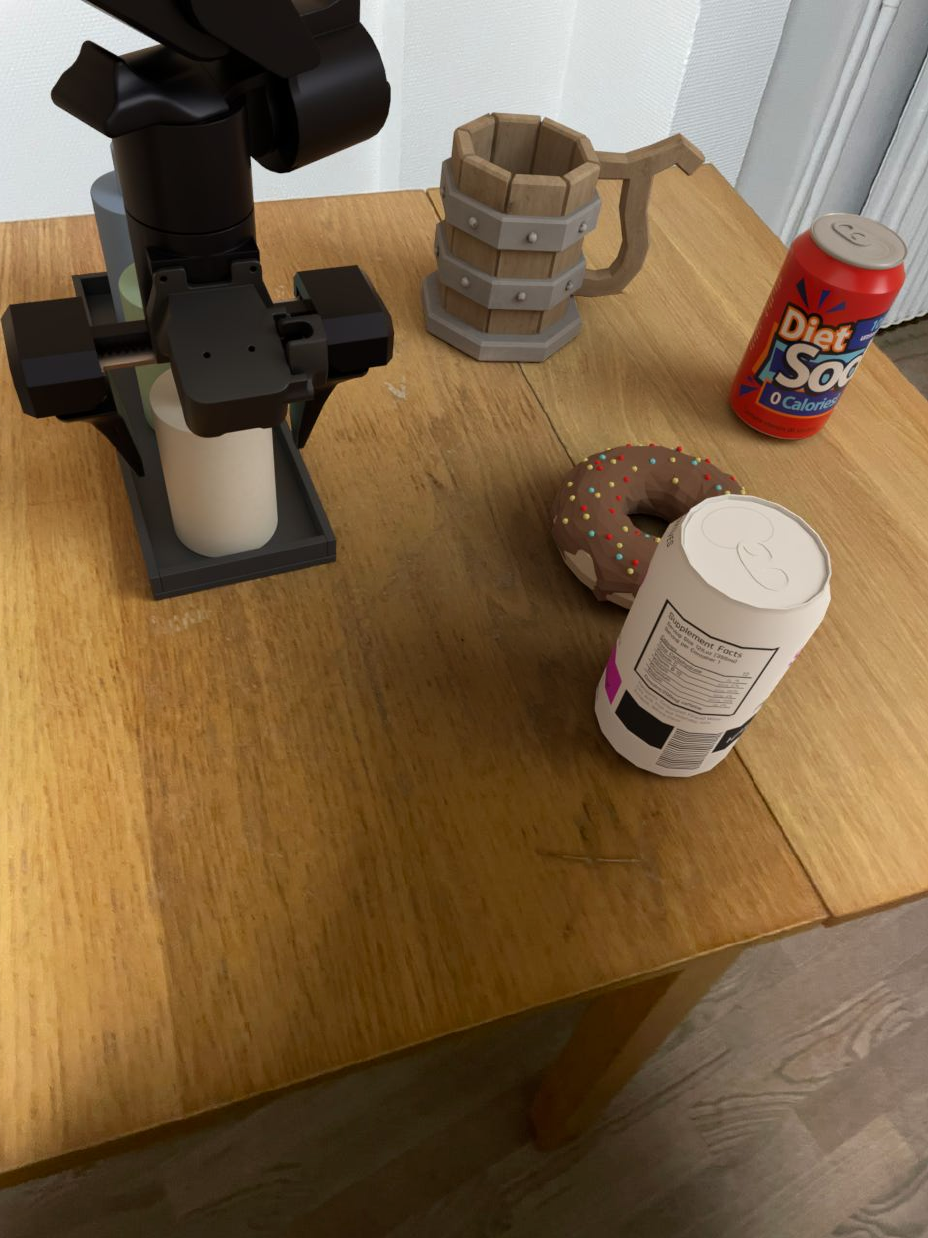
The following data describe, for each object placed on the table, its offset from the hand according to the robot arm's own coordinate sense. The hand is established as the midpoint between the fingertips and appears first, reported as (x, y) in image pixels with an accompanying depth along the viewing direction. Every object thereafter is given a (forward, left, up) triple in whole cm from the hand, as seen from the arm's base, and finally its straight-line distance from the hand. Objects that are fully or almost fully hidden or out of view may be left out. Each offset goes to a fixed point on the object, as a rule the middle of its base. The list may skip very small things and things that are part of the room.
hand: (221, 457), depth 53 cm
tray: (0, +11, -6) cm, 13 cm away
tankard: (+30, +17, -6) cm, 35 cm away
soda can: (+43, +1, -6) cm, 43 cm away
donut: (+26, -9, -6) cm, 28 cm away
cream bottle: (0, 0, -5) cm, 5 cm away
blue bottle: (0, +22, -5) cm, 23 cm away
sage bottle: (0, +11, -5) cm, 12 cm away
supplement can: (+20, -21, -6) cm, 30 cm away
